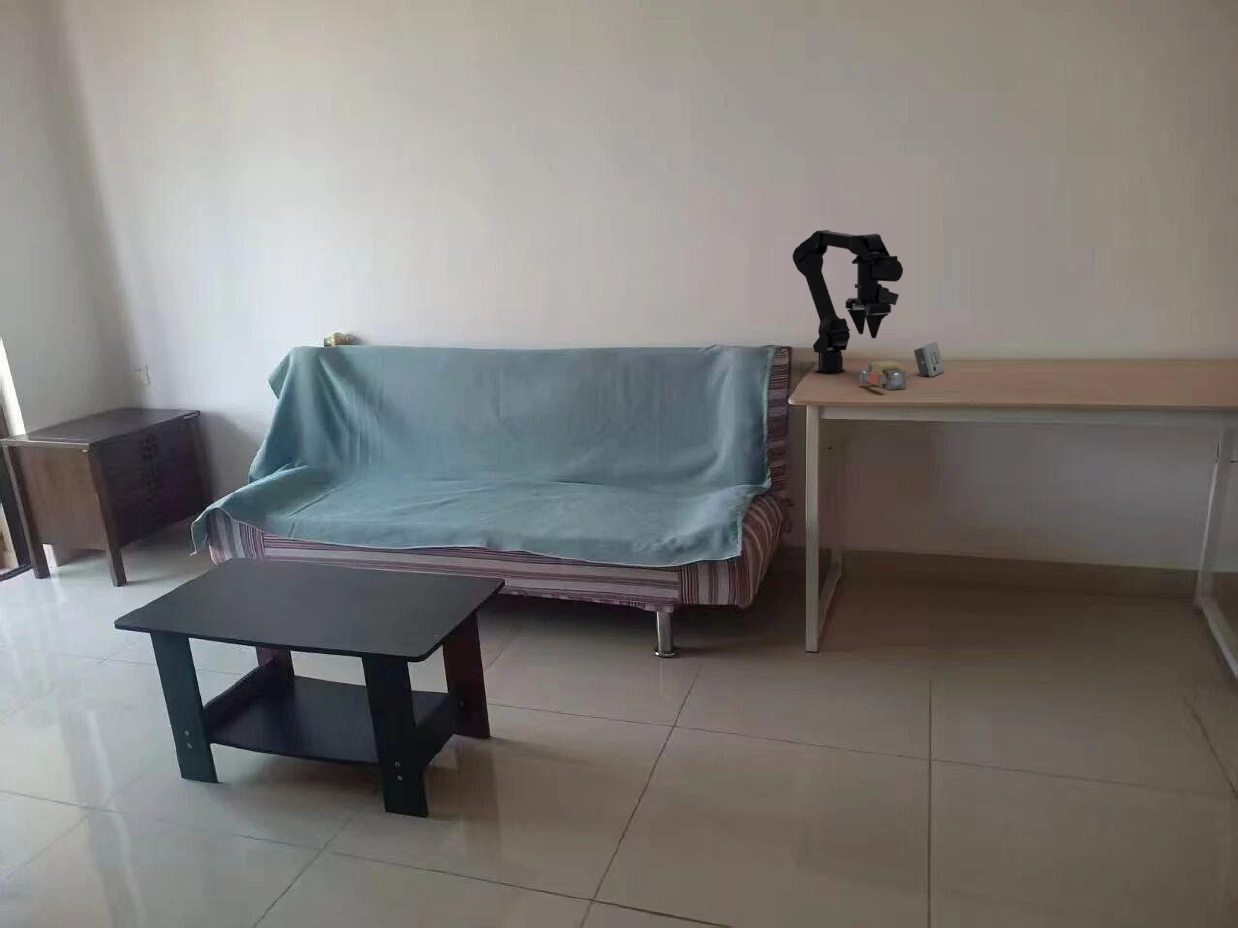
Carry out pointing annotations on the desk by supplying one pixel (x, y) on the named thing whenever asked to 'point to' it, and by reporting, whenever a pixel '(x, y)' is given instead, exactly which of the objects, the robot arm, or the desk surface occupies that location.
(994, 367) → the desk surface
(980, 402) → the desk surface
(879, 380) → the lever
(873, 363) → the valve
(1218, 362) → the desk surface
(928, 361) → the electrical switch
